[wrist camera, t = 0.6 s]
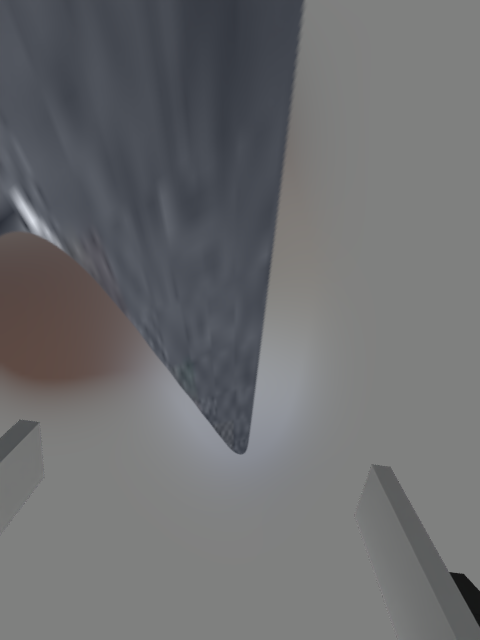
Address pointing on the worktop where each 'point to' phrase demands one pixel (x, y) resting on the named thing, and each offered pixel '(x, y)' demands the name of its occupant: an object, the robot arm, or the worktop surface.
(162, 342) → the worktop surface
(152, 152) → the worktop surface
